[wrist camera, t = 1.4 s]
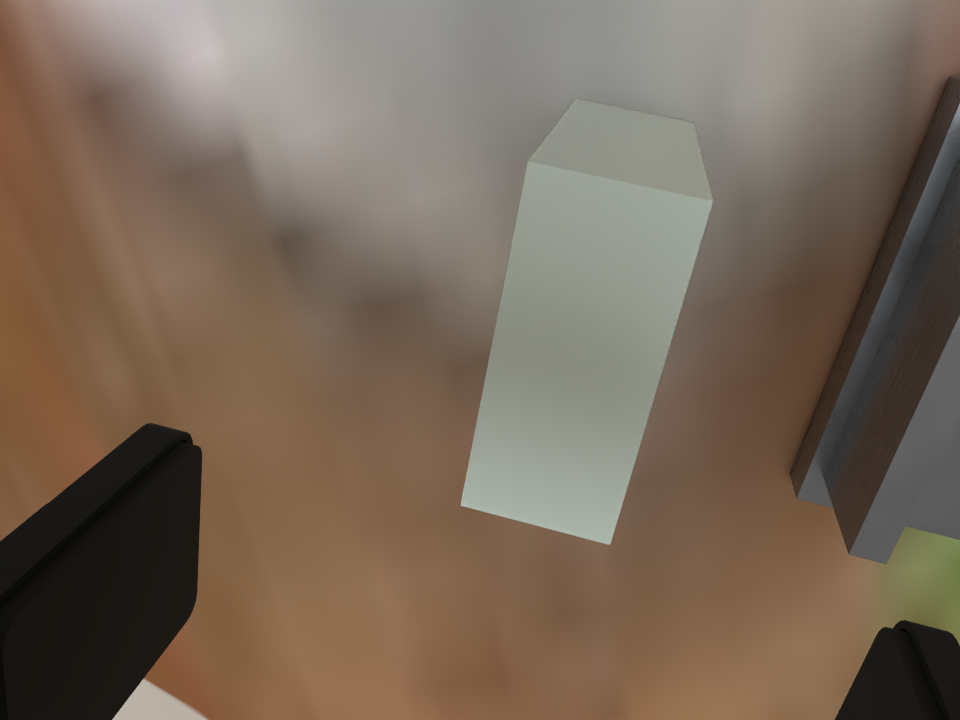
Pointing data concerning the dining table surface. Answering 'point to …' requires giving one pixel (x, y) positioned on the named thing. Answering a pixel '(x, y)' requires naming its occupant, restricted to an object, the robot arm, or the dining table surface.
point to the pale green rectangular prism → (587, 316)
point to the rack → (899, 371)
